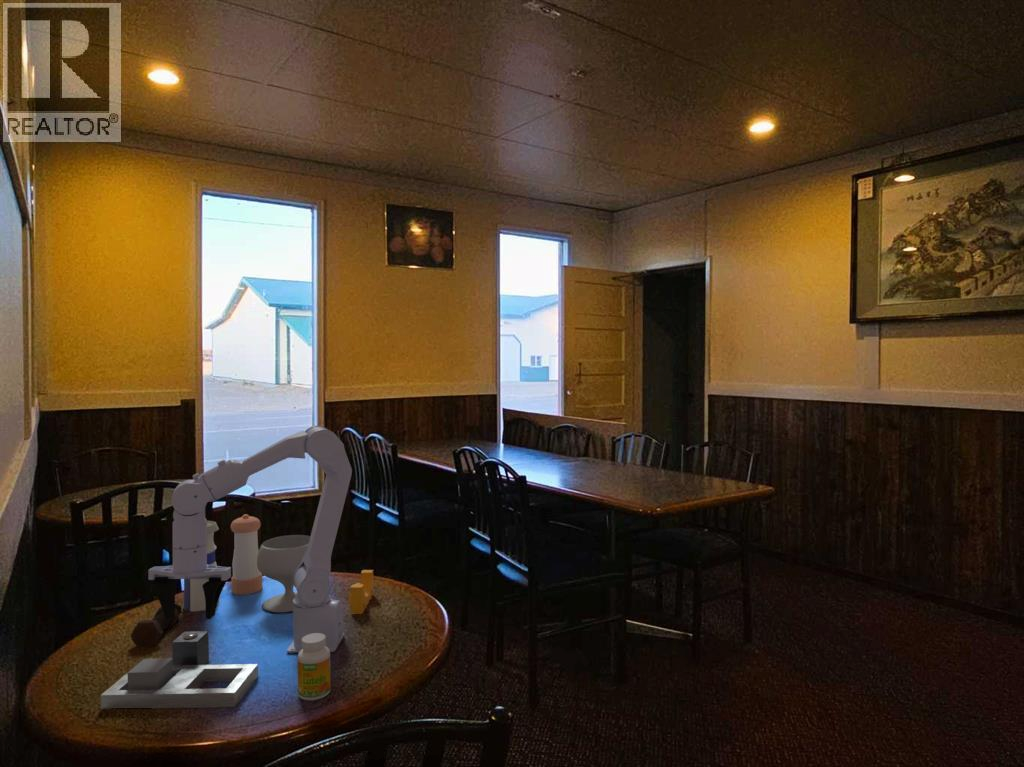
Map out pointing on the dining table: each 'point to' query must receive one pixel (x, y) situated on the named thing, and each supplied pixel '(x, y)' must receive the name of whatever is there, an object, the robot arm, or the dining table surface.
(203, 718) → the dining table surface
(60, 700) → the dining table surface
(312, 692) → the supplement bottle
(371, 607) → the dining table surface
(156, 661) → the slate block
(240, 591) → the salt shaker
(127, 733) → the dining table surface
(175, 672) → the tray
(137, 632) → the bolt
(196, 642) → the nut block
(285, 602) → the chalice
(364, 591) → the pipe clamp
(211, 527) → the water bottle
